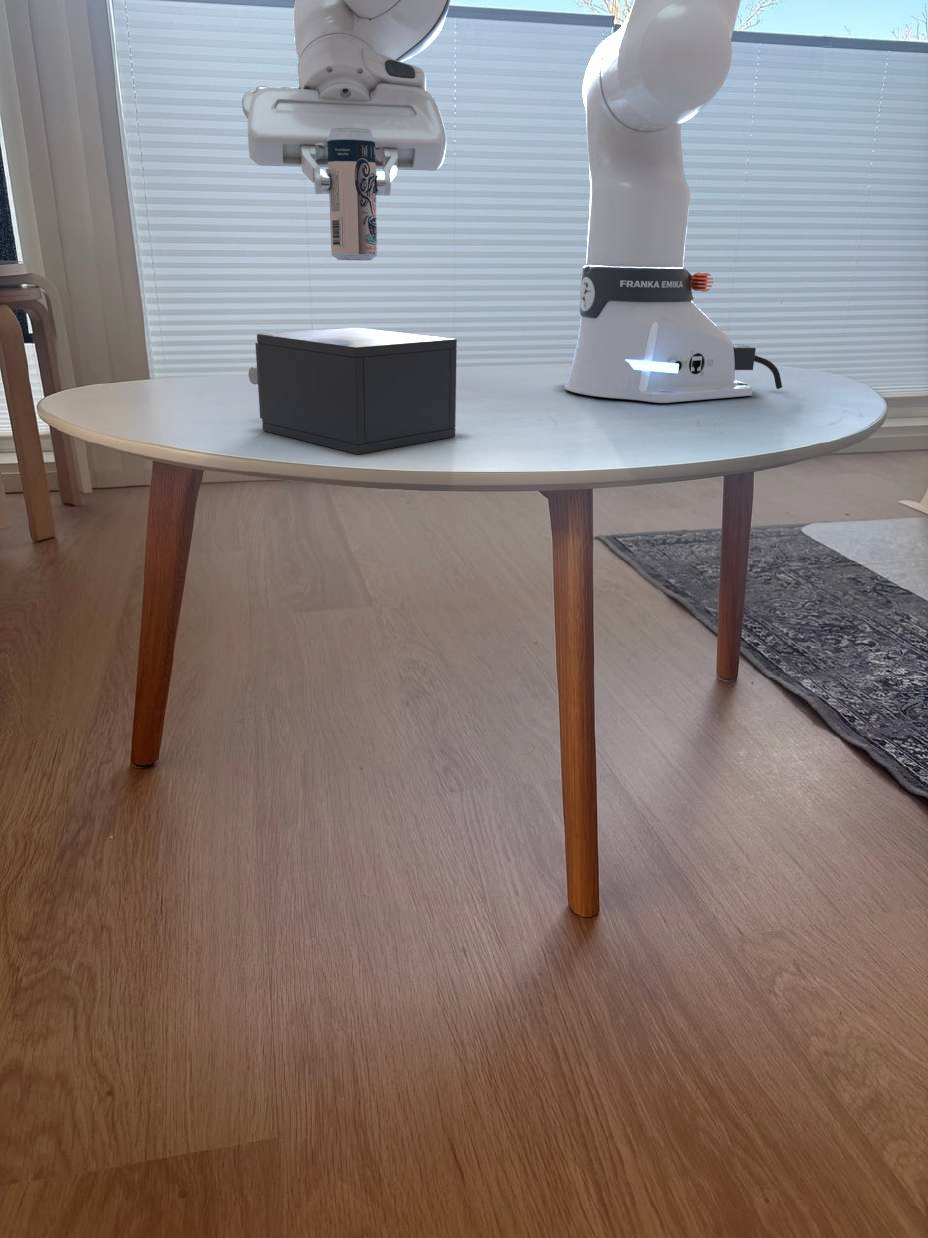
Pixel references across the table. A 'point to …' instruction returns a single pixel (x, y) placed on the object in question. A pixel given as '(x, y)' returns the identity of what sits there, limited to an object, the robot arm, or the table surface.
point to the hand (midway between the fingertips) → (353, 189)
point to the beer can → (352, 193)
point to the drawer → (256, 378)
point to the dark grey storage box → (358, 387)
